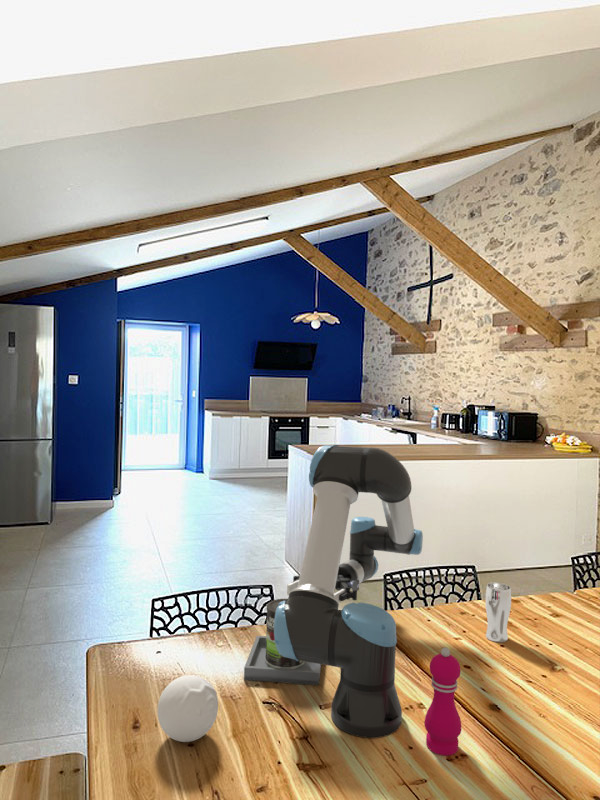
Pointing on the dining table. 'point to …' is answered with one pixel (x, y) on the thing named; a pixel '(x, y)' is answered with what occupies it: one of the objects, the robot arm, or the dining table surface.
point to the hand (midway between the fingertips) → (309, 595)
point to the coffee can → (271, 651)
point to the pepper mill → (443, 705)
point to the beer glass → (497, 611)
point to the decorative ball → (187, 708)
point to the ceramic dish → (263, 672)
